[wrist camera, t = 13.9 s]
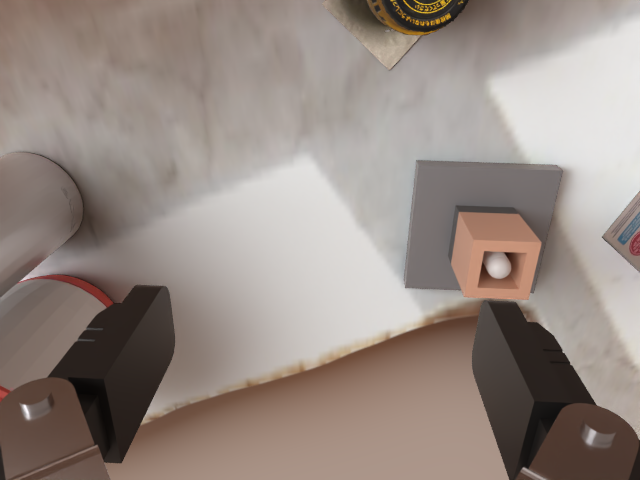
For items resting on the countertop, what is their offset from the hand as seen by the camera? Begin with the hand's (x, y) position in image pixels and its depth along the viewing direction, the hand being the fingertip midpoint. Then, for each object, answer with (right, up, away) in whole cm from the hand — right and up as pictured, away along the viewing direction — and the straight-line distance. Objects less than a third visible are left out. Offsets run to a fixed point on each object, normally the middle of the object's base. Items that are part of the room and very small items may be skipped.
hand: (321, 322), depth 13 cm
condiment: (+6, +21, +26) cm, 34 cm away
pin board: (+14, +3, +33) cm, 36 cm away
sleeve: (+14, +3, +32) cm, 35 cm away
